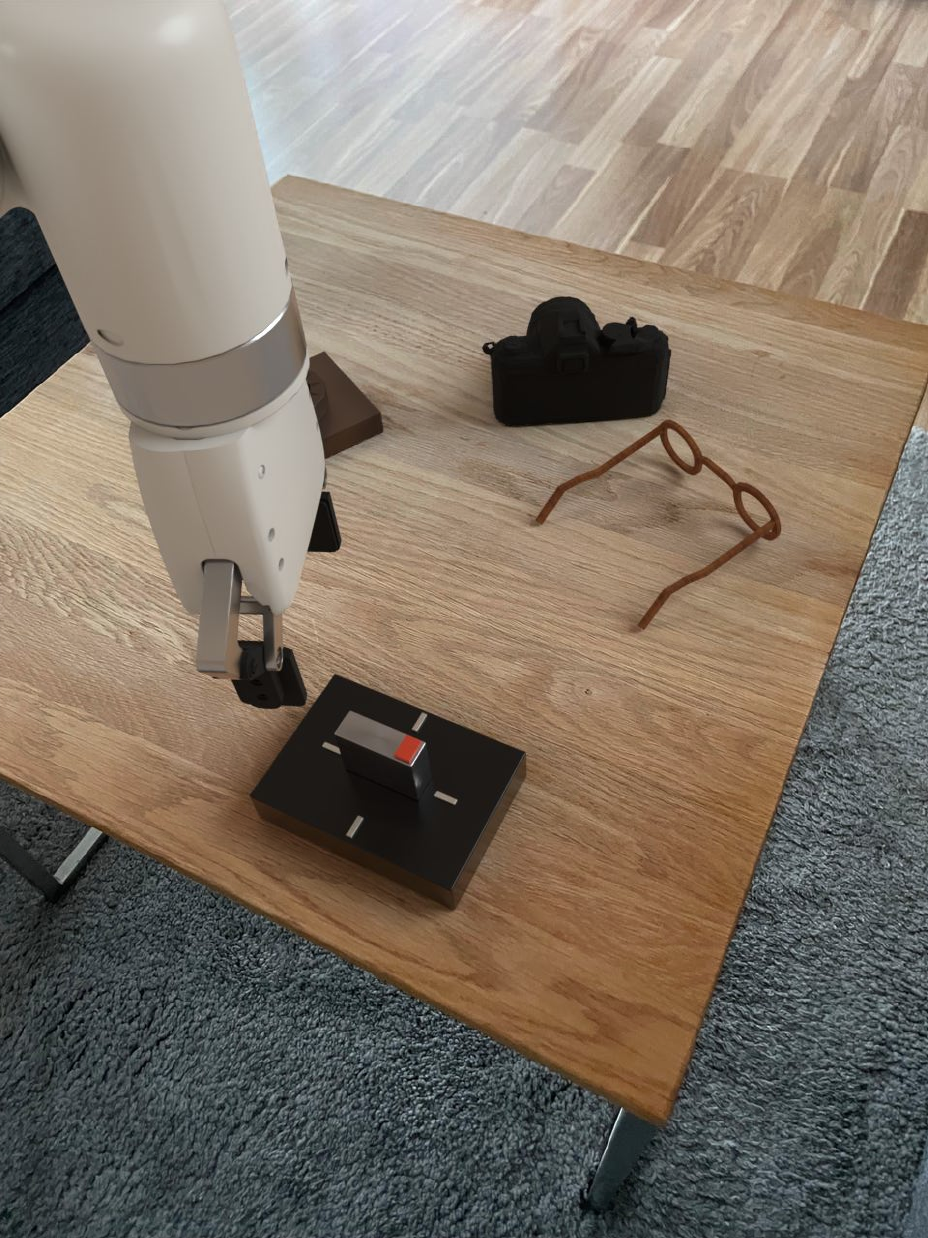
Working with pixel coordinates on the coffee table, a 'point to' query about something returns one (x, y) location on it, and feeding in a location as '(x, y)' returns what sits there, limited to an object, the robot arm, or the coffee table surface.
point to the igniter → (340, 407)
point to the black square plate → (393, 794)
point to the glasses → (698, 462)
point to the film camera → (577, 368)
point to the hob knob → (384, 755)
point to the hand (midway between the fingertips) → (295, 619)
